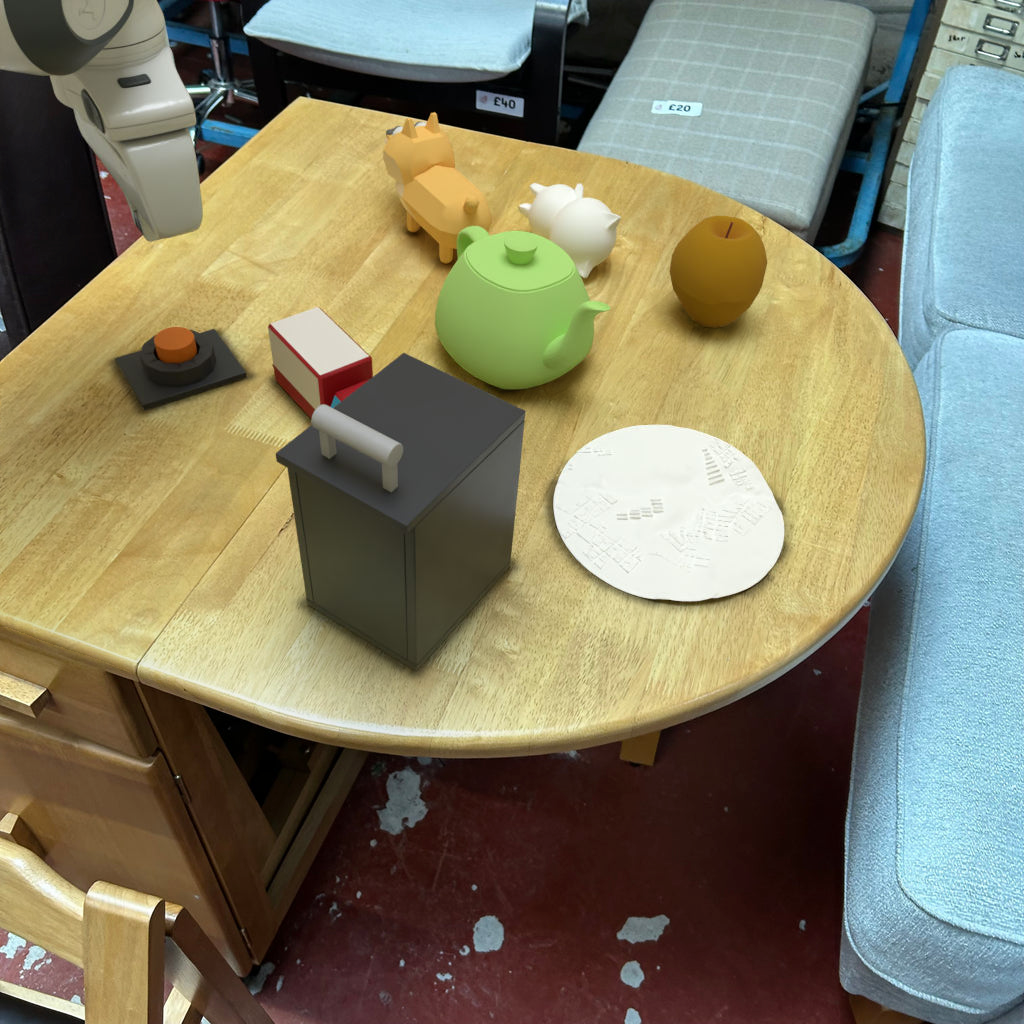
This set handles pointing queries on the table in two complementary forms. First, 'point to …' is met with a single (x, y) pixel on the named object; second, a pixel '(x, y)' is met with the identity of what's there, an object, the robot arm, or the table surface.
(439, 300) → the teapot
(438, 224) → the dog
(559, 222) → the cat figurine
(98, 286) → the table surface
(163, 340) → the button
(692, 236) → the apple
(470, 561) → the lidded storage box
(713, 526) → the plaque
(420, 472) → the storage box lid
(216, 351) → the box
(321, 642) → the table surface
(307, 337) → the toy truck
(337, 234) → the table surface
